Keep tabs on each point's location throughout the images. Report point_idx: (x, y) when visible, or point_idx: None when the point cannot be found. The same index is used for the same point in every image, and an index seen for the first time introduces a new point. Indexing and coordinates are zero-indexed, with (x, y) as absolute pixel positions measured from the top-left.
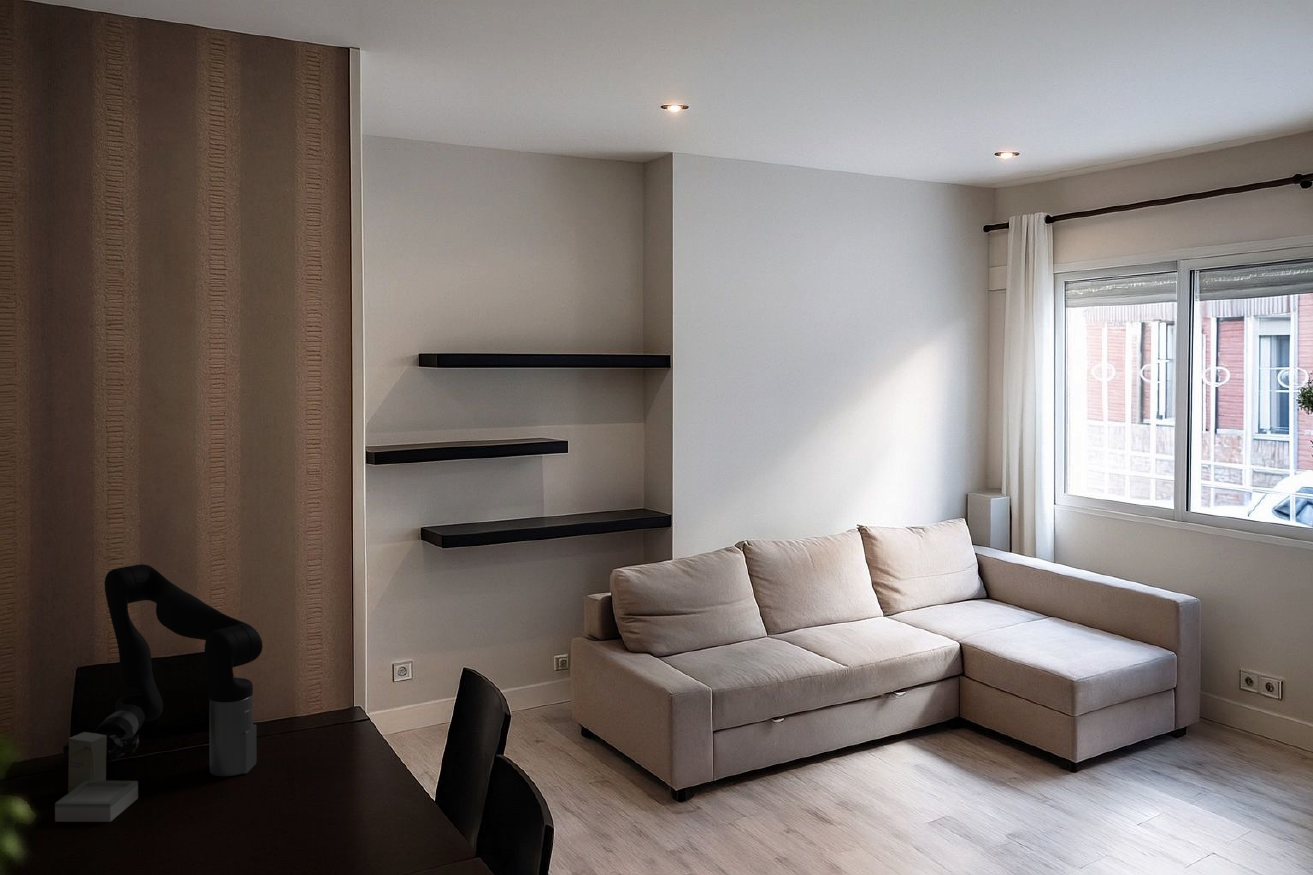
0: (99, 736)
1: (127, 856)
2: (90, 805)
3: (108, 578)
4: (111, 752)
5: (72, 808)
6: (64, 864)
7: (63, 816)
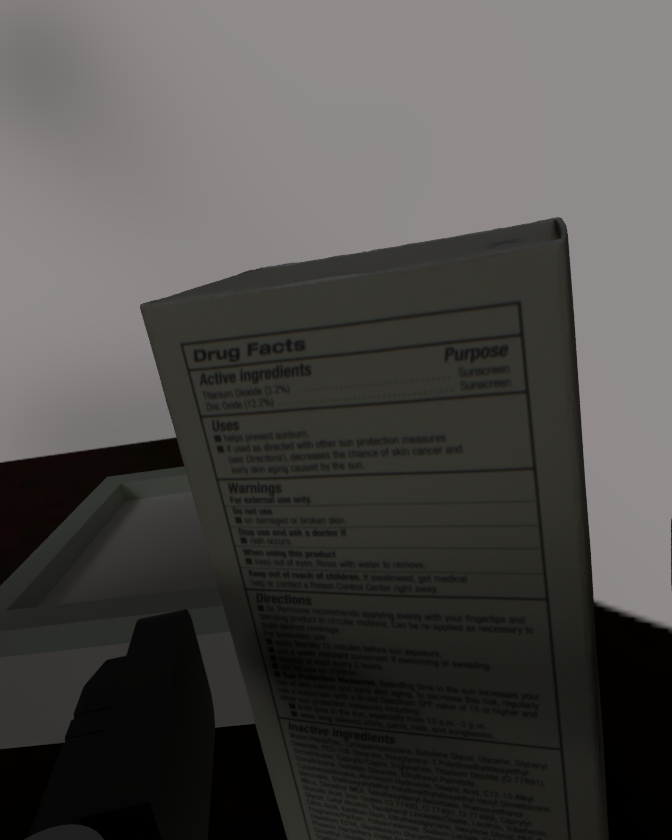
0: (219, 285)
1: (51, 469)
2: None
3: None
4: (165, 617)
5: None
6: None
7: None
